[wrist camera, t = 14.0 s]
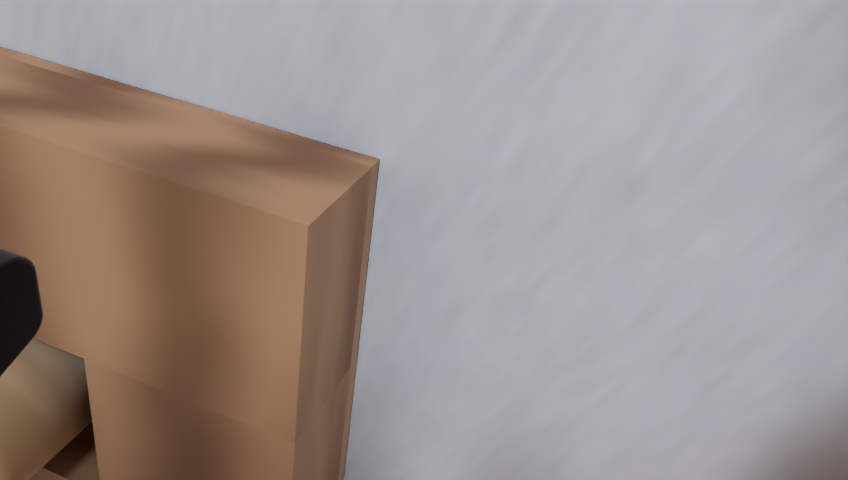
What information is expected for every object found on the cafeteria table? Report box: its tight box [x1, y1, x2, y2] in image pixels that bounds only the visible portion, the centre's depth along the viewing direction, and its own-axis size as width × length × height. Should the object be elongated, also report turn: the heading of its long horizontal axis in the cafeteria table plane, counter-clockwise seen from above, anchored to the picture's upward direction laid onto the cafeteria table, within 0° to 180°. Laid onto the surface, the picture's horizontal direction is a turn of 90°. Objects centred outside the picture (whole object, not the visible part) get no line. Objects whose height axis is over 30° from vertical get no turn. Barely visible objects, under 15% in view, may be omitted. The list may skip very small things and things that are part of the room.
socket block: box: [0, 47, 380, 480], centre depth 27 cm, size 20×20×4 cm
